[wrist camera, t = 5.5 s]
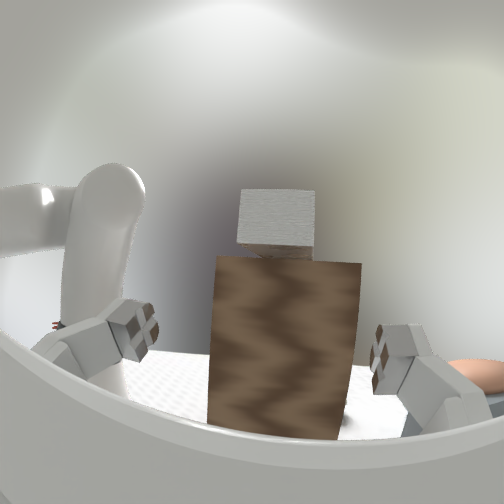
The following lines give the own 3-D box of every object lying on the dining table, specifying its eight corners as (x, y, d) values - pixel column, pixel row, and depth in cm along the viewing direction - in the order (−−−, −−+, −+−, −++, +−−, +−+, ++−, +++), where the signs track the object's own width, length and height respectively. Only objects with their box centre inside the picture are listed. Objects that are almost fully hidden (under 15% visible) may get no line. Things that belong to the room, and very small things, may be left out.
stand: (206, 491, 20) (216, 255, 23) (239, 437, 34) (252, 267, 37) (316, 507, 18) (361, 263, 21) (318, 446, 31) (342, 272, 34)
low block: (401, 543, 9) (477, 398, 11) (384, 479, 21) (420, 359, 22) (475, 519, 7) (545, 377, 9) (443, 469, 19) (482, 353, 20)
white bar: (236, 242, 15) (241, 189, 15) (283, 269, 38) (284, 248, 38) (312, 246, 14) (314, 190, 14) (312, 271, 37) (313, 249, 37)
